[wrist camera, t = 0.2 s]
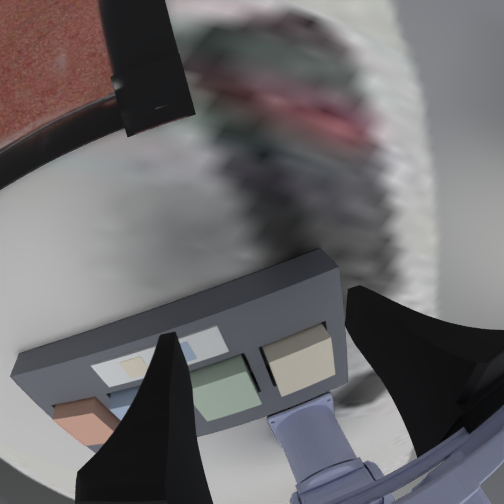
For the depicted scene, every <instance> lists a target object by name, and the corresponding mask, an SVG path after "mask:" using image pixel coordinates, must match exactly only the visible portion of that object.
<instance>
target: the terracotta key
mask: <svg viewBox="0 0 504 504" xmlns="http://www.w3.org/2000/svg"><path fill="white" fill-rule="evenodd" d="M53 421H55V422H56V423H57V424H58V425H59V426H60V427H62V428H63V429H64V430H65V431H66V432H68V433H69V434H70V435H71V436H73V437H74V438H75V439H76V440H78V441H79V442H80V443H82V444H83V445H84V446H88V445H97V444H104V443H105V442H106V441H107V440H108V438H109V437H110V436H111V435H112V433H113V432H114V430H115V429H116V428H117V426H118V425H119V423H120V420H119V419H118V418H117V417H116V416H115V415H114V414H113V413H112V412H111V411H110V410H109V409H107V408H106V407H105V406H104V405H103V404H102V403H101V402H100V401H99V400H98V399H97V398H96V396H94V397H90V398H85V399H81V400H76V401H71V402H66V403H60V404H56V405H55V410H54V415H53Z"/></svg>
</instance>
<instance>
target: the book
mask: <svg viewBox="0 0 504 504" xmlns="http://www.w3.org/2000/svg"><path fill="white" fill-rule="evenodd" d="M192 115H196V113H195V110H194V106H193V102H192V99H191V95H190V91H189V88H188V84H187V80H186V77H185V73H184V69H183V66H182V62H181V58H180V54H179V53H178V49H177V46H176V42H175V38H174V34H173V30H172V26H171V23H170V19H169V15H168V11H167V7H166V3H165V0H0V190H1V189H3V188H4V187H6V186H8V185H9V184H11V183H13V182H14V181H16V180H18V179H19V178H21V177H23V176H25V175H26V174H28V173H30V172H32V171H33V170H35V169H37V168H39V167H41V166H43V165H45V164H47V163H48V162H50V161H52V160H54V159H56V158H58V157H60V156H62V155H64V154H66V153H68V152H71V151H73V150H75V149H77V148H79V147H81V146H83V145H86V144H88V143H90V142H92V141H95V140H97V139H99V138H102V137H104V136H106V135H109V134H111V133H114V132H116V131H119V130H121V129H124V128H125V130H126V134H127V137H130V136H133V135H135V134H138V133H141V132H144V131H146V130H149V129H152V128H155V127H158V126H161V125H164V124H167V123H170V122H173V121H176V120H179V119H182V118H186V117H189V116H192Z"/></svg>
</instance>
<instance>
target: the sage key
mask: <svg viewBox="0 0 504 504" xmlns="http://www.w3.org/2000/svg"><path fill="white" fill-rule="evenodd" d="M189 372H190V378H191V383H192V388H193V401H194V405H195V407H196V408H197V409H198V411H199V412H200V413H201V414H202V416H203V417H204V418H205V419H206V420H207V422H208V421H211V420H215V419H218V418H221V417H225V416H228V415H231V414H234V413H237V412H241V411H244V410H247V409H250V408H252V407H255V406H258V405H261V404H262V402H261V400H260V397H259V394H258V391H257V388H256V385H255V383H254V381H253V379H252V377H251V375H250V372H249V370H248V368H247V366H246V364H245V361H244V359H243V357H242V355H241V354H239V355H236V356H234V357H231V358H228V359H225V360H222V361H219V362H216V363H213V364H210V365H207V366H204V367H201V368H198V369H194V370H191V371H189Z"/></svg>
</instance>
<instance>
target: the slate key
mask: <svg viewBox="0 0 504 504" xmlns="http://www.w3.org/2000/svg"><path fill="white" fill-rule="evenodd" d="M139 387H140V385H139V386H136V387H132V388H128V389H124V390H120V391H116V392H112V393H111V397H110V409H109V410H110V411H111V412H112V413H113V414H114V415H116V416H117V417H118V418H119V419H120V420H122V418H123V417H124V415H125V414H126V412H127V410H128V409H129V407H130V405H131V403H132V402H133V400H134V398H135V396H136V394H137V392H138V390H139Z"/></svg>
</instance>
